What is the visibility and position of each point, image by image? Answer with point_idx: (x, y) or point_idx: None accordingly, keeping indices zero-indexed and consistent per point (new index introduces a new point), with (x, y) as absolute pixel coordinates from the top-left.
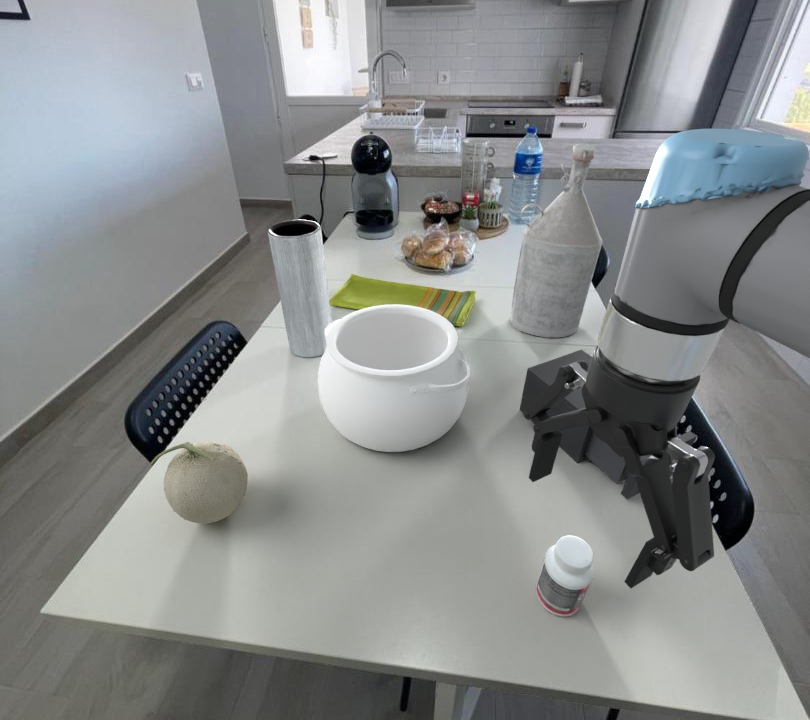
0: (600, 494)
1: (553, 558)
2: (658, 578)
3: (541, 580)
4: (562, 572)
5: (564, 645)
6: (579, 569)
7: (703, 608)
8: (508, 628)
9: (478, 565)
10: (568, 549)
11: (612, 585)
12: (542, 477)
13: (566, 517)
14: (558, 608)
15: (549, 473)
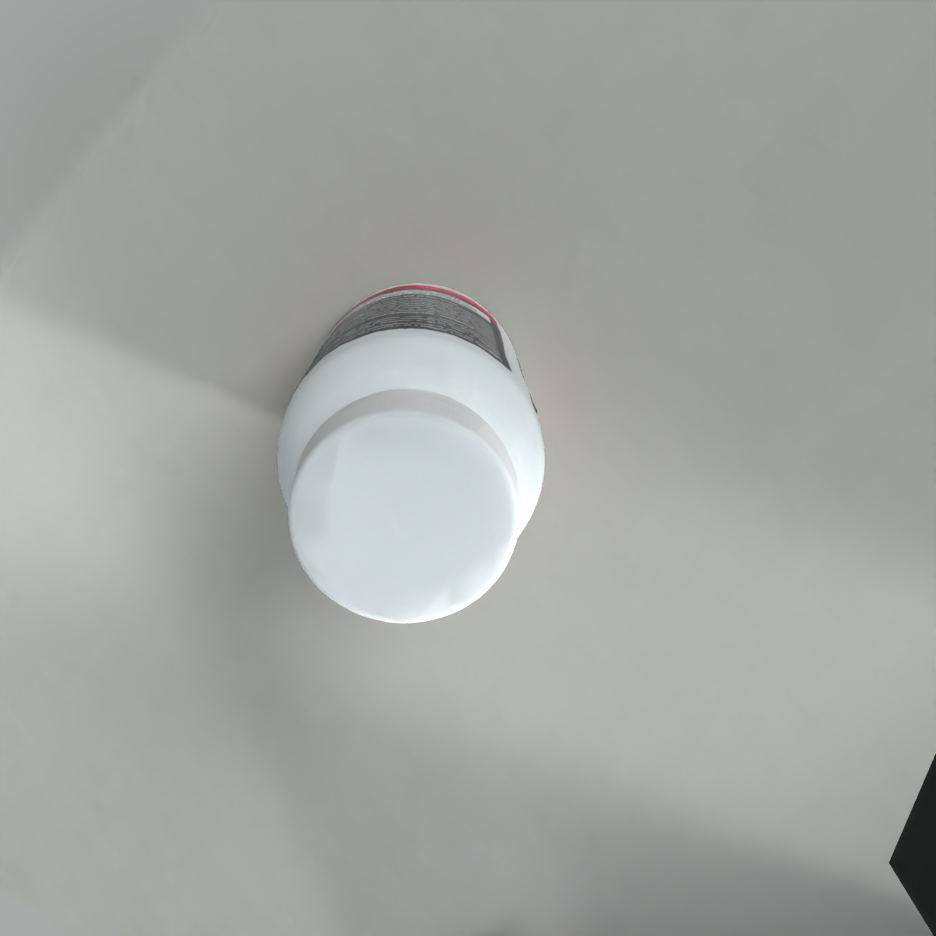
0: (589, 883)
1: (482, 415)
2: (219, 749)
3: (481, 326)
4: (392, 385)
5: (261, 227)
6: (309, 448)
7: (56, 770)
8: (459, 72)
9: (757, 189)
10: (434, 500)
11: (306, 594)
12: (927, 782)
13: (621, 697)
14: (358, 308)
15: (904, 856)
